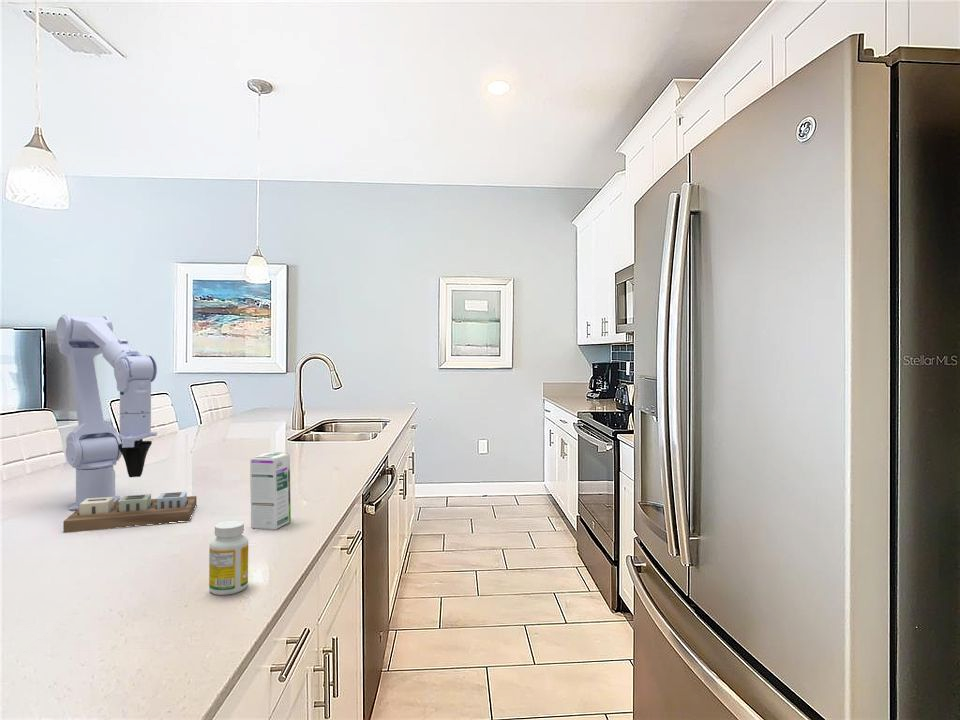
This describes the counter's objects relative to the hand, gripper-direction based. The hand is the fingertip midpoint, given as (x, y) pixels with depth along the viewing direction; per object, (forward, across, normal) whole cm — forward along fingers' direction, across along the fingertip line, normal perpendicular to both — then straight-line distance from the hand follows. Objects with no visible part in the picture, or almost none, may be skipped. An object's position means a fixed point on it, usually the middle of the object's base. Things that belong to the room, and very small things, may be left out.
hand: (135, 476), depth 124 cm
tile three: (+8, 0, -7) cm, 11 cm away
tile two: (+8, 0, 0) cm, 8 cm away
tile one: (+8, 0, +7) cm, 11 cm away
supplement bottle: (+9, -47, -21) cm, 52 cm away
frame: (+9, 0, 0) cm, 9 cm away
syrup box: (+9, -15, -27) cm, 32 cm away
